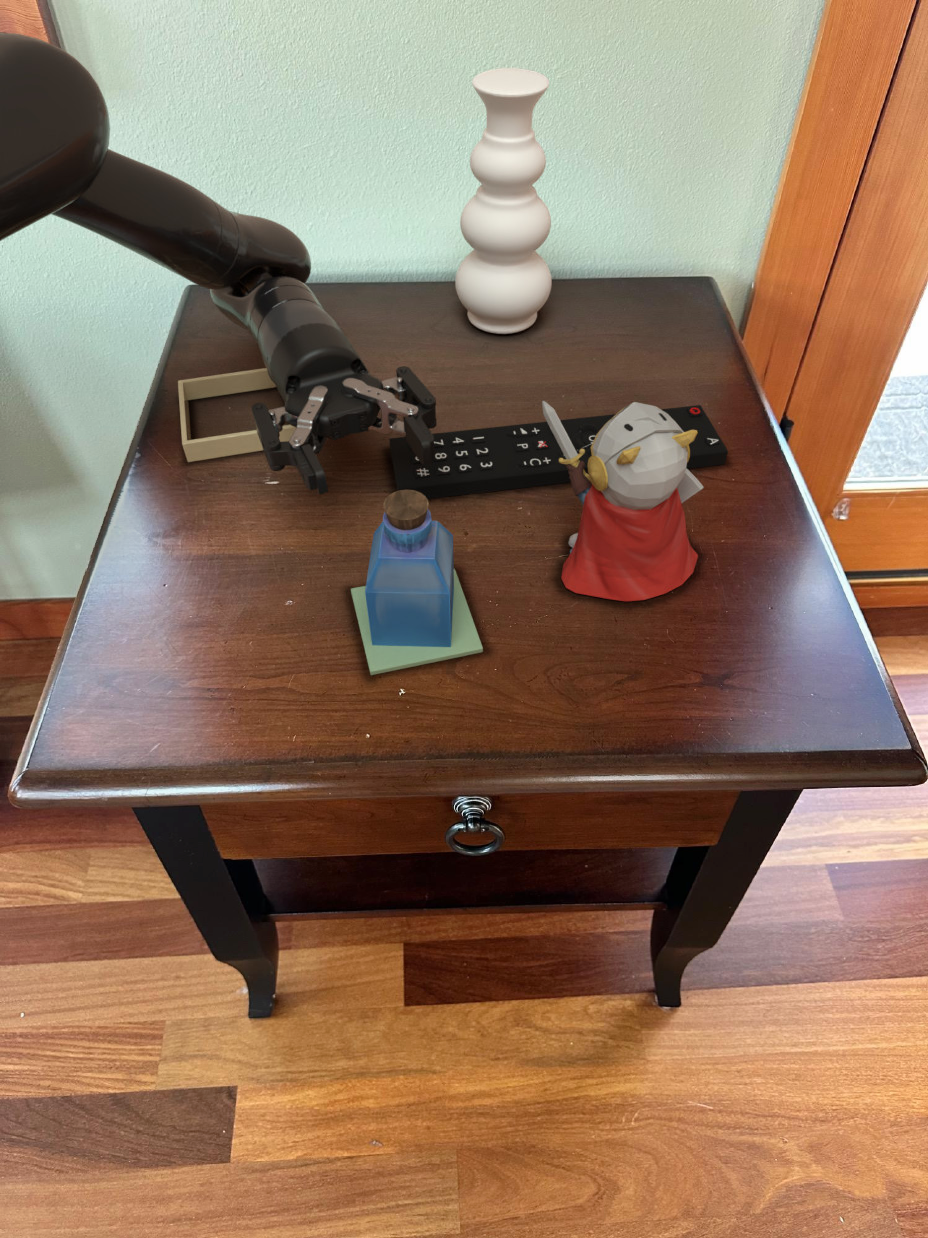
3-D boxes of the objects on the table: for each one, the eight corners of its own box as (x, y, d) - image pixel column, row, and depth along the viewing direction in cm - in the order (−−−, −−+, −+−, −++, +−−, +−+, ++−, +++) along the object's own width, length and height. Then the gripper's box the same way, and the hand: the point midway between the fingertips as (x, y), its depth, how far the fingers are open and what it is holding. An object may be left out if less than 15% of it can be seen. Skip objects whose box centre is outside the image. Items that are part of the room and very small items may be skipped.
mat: (370, 675, 64) (370, 671, 64) (351, 592, 70) (350, 588, 70) (483, 652, 66) (483, 648, 65) (455, 572, 71) (454, 568, 71)
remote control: (727, 464, 81) (732, 447, 79) (399, 502, 77) (398, 485, 76) (699, 417, 86) (703, 400, 84) (390, 451, 82) (388, 434, 81)
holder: (187, 462, 81) (181, 444, 79) (183, 398, 88) (177, 380, 86) (300, 444, 83) (297, 426, 81) (287, 382, 90) (284, 364, 88)
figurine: (671, 502, 77) (706, 358, 66) (714, 592, 70) (762, 448, 58) (532, 518, 76) (544, 373, 64) (562, 611, 68) (581, 467, 57)
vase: (437, 314, 99) (430, 72, 80) (509, 287, 103) (519, 51, 84) (493, 355, 93) (501, 105, 74) (567, 324, 97) (592, 80, 78)
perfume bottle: (379, 587, 70) (366, 475, 61) (454, 589, 69) (452, 476, 60) (372, 645, 66) (357, 534, 56) (450, 647, 65) (448, 535, 56)
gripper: (221, 341, 69) (277, 455, 59) (383, 303, 72) (460, 405, 63) (240, 417, 74) (294, 532, 65) (389, 378, 78) (461, 482, 69)
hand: (376, 469), depth 64 cm, fingers open, 8 cm apart
